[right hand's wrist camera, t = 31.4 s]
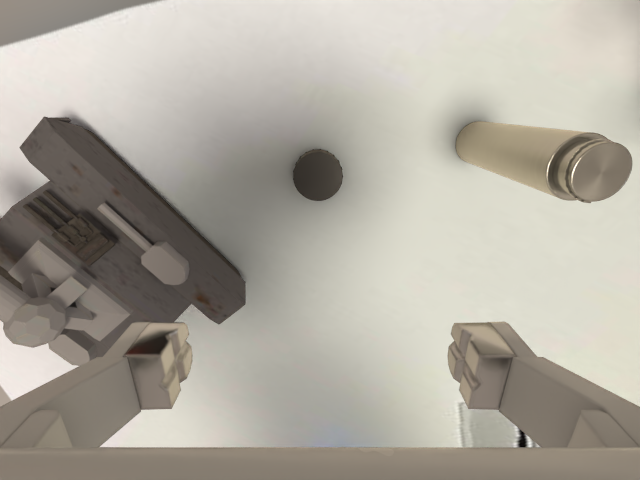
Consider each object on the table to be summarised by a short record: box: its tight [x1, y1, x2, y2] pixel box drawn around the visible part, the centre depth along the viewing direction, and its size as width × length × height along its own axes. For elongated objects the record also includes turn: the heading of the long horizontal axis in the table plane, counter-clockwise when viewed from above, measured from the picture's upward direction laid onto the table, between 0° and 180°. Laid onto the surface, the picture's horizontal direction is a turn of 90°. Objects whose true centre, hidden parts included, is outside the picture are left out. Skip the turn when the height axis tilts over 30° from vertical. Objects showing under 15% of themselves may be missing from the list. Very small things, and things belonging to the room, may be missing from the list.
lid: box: [293, 149, 343, 201], centre depth 36 cm, size 5×5×2 cm
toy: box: [0, 117, 245, 366], centre depth 34 cm, size 25×20×15 cm
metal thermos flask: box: [456, 121, 632, 203], centre depth 28 cm, size 4×4×17 cm
